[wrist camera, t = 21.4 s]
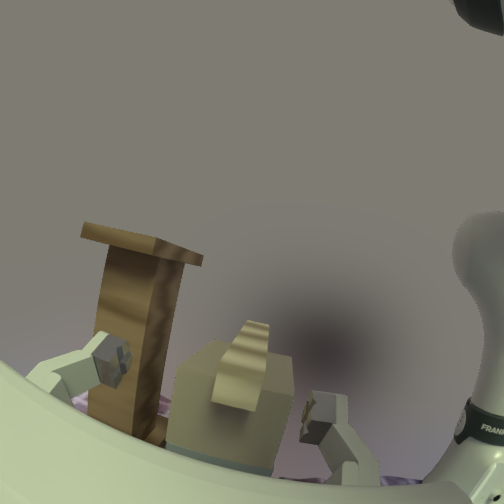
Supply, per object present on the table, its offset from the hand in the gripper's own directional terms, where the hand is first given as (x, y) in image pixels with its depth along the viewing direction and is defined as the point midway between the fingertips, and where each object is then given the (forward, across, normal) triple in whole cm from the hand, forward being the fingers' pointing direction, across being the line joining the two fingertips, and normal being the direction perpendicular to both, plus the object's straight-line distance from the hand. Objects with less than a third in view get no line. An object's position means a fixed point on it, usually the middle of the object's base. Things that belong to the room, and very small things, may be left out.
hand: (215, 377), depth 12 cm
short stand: (+6, +13, +27) cm, 30 cm away
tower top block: (+10, 0, +20) cm, 22 cm away
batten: (+13, 0, +12) cm, 18 cm away
